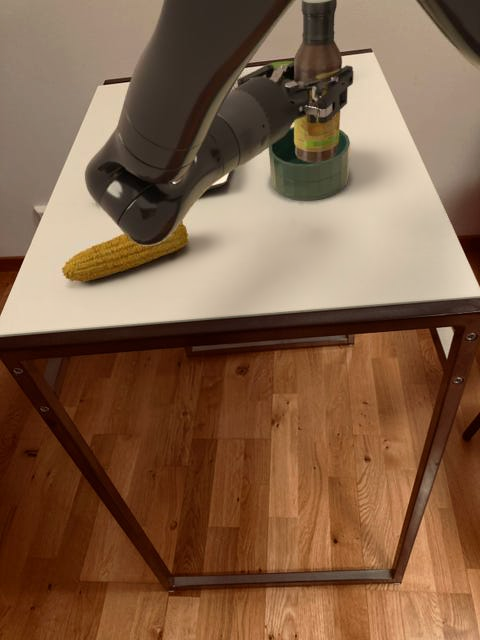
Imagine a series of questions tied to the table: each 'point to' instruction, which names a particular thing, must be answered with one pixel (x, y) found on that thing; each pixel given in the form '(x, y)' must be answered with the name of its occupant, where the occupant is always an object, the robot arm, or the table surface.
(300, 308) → the table surface
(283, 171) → the pot
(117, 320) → the table surface
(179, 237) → the food
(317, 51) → the sauce bottle
